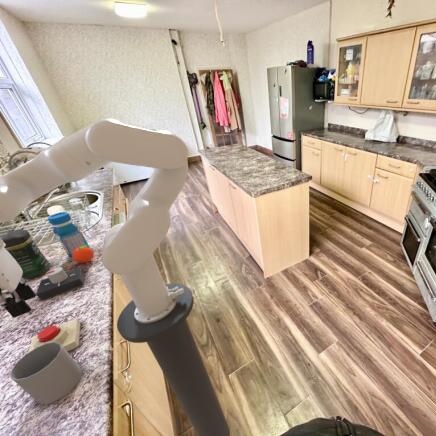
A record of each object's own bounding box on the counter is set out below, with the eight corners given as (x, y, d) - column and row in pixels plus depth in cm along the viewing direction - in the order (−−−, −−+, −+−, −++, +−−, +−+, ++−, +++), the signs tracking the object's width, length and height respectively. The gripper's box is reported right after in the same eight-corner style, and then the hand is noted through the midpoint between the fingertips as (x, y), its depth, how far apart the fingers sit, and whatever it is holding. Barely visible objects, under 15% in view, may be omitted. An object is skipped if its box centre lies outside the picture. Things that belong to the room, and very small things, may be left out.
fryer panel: (84, 272, 94) (80, 266, 93) (83, 284, 88) (79, 278, 86) (45, 286, 88) (40, 280, 87) (40, 300, 82) (35, 294, 80)
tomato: (92, 253, 106) (85, 240, 103) (102, 256, 104) (95, 243, 101) (73, 264, 100) (64, 251, 96) (83, 267, 97) (75, 253, 94)
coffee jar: (47, 274, 95) (19, 235, 86) (20, 282, 91) (-11, 242, 83) (53, 262, 102) (28, 225, 93) (28, 269, 99) (0, 231, 90)
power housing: (80, 322, 72) (74, 313, 71) (78, 346, 65) (71, 337, 63) (37, 341, 67) (28, 332, 65) (29, 369, 60) (20, 360, 58)
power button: (60, 326, 67) (57, 322, 66) (59, 336, 64) (55, 332, 63) (42, 334, 65) (38, 330, 64) (39, 345, 62) (35, 341, 61)
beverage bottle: (81, 259, 103) (57, 219, 93) (63, 259, 103) (38, 220, 94) (96, 248, 110) (75, 210, 101) (80, 248, 111) (57, 211, 101)
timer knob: (68, 273, 89) (62, 265, 87) (67, 279, 86) (61, 270, 84) (53, 278, 87) (46, 270, 85) (51, 285, 84) (44, 276, 82)
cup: (83, 360, 62) (64, 335, 57) (80, 388, 55) (58, 363, 51) (41, 380, 57) (16, 356, 53) (32, 413, 51) (3, 388, 47)
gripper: (-34, 237, 55) (13, 294, 63) (-72, 275, 43) (-7, 339, 51) (11, 227, 59) (50, 281, 67) (-12, 258, 46) (39, 320, 55)
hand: (25, 305), depth 59 cm, fingers open, 5 cm apart
